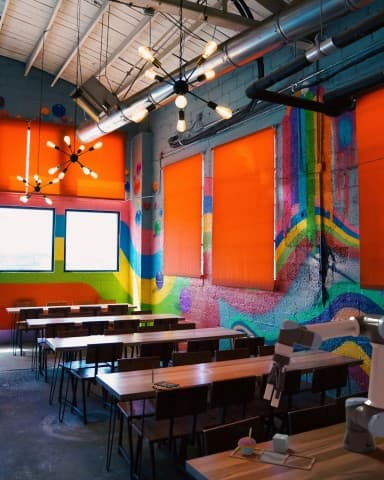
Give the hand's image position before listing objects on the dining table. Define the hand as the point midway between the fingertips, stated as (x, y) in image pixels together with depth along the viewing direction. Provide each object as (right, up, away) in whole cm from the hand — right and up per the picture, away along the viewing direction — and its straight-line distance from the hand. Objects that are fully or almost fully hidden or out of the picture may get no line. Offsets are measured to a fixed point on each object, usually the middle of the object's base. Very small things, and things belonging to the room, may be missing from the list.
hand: (270, 402), depth 203 cm
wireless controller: (-54, -39, +139) cm, 154 cm away
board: (+3, -29, +12) cm, 32 cm away
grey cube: (+9, -30, +22) cm, 38 cm away
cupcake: (-8, -30, +17) cm, 35 cm away
